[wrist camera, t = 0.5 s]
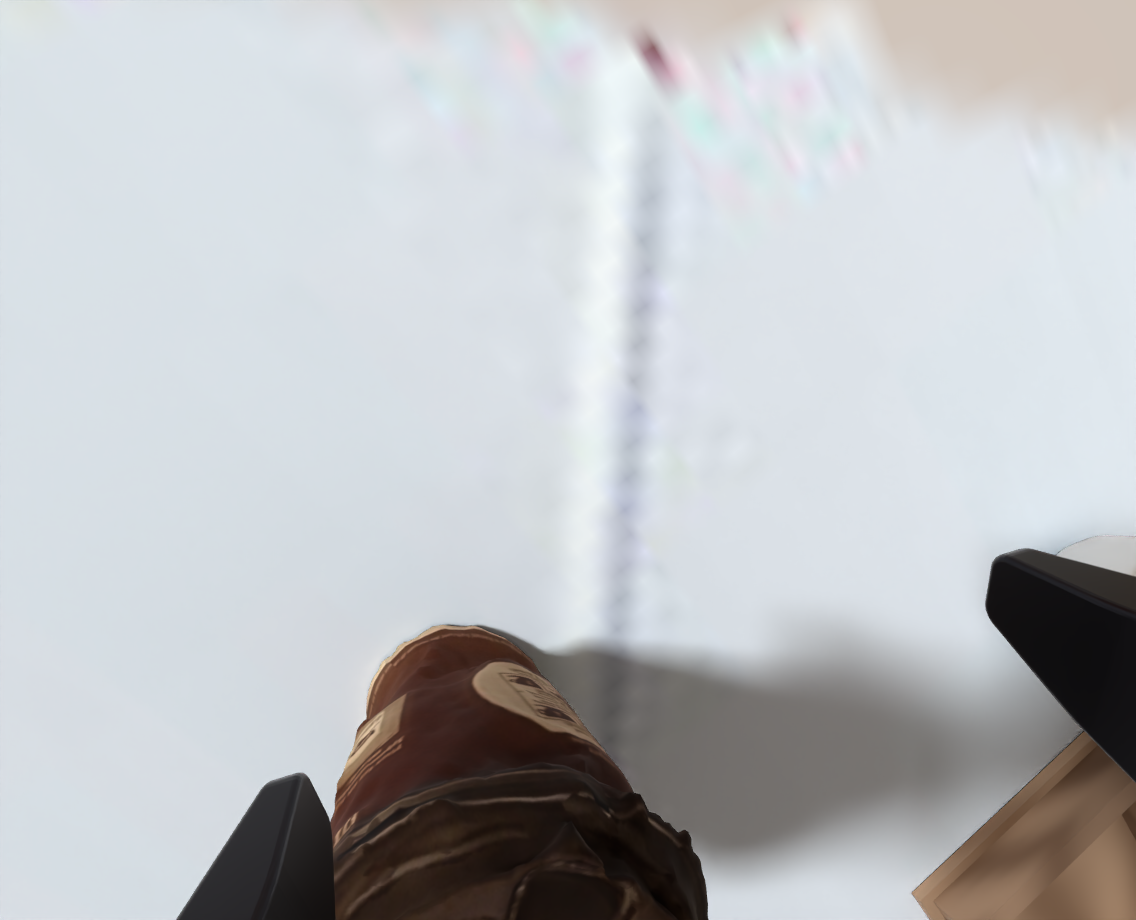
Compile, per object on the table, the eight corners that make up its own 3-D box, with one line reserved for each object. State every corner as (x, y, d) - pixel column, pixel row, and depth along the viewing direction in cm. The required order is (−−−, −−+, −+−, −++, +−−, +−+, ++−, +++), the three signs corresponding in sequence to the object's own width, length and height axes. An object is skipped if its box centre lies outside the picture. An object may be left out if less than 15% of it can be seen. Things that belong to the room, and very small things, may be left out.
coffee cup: (505, 544, 24) (624, 723, 11) (615, 723, 25) (824, 1052, 13) (282, 684, 22) (129, 1068, 10) (414, 862, 24) (429, 1382, 12)
